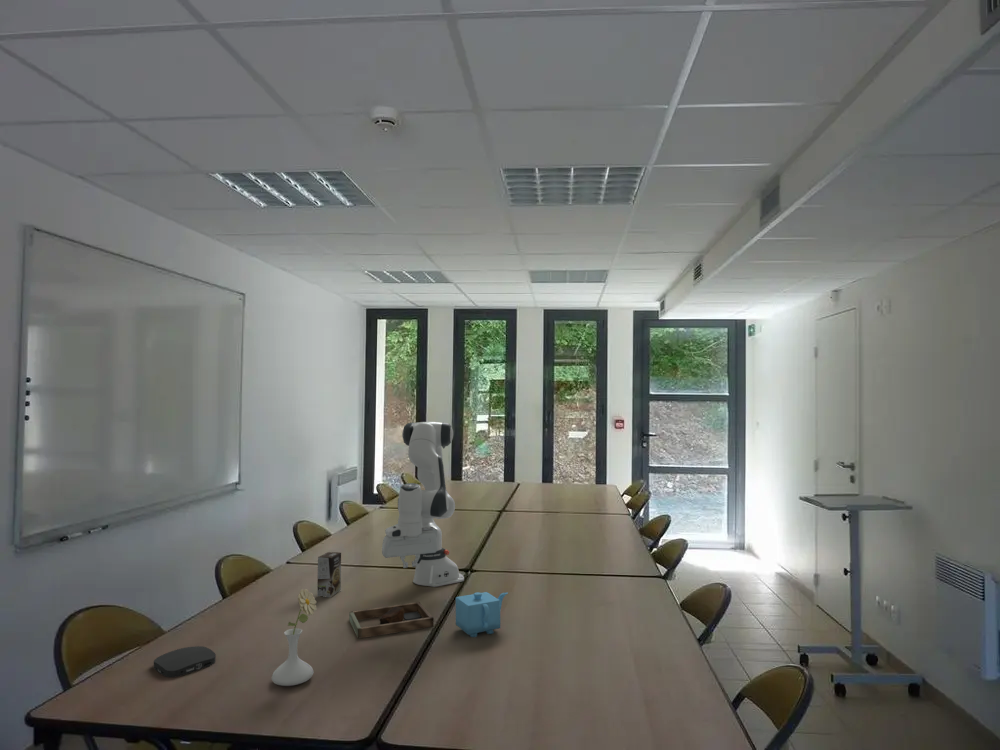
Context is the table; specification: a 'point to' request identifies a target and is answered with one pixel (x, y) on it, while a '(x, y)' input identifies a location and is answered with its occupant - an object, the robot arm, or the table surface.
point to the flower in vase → (294, 667)
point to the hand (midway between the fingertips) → (410, 567)
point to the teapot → (478, 613)
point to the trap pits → (412, 616)
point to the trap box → (390, 627)
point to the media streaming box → (184, 661)
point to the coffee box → (329, 574)
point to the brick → (393, 616)
